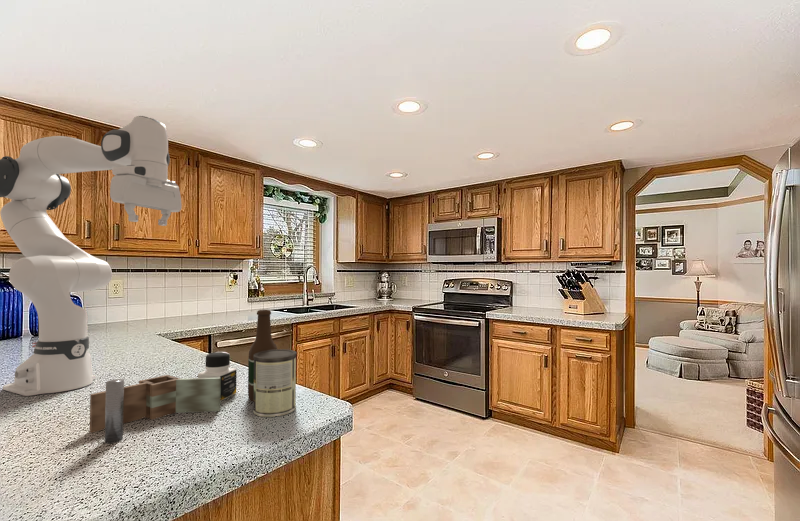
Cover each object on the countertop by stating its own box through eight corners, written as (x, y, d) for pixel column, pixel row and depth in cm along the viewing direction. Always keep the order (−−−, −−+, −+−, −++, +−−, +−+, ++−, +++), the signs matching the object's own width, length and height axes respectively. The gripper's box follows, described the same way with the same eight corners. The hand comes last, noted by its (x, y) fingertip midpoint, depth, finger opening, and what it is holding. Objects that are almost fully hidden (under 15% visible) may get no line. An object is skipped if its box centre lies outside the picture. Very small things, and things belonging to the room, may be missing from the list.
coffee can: (245, 409, 98) (246, 353, 98) (283, 400, 105) (284, 347, 106) (264, 421, 91) (265, 359, 91) (303, 410, 98) (304, 353, 98)
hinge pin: (100, 442, 79) (102, 382, 79) (115, 436, 82) (116, 378, 82) (112, 444, 78) (113, 383, 79) (126, 438, 81) (127, 379, 82)
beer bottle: (260, 405, 101) (261, 312, 102) (241, 399, 105) (242, 310, 106) (284, 396, 108) (284, 309, 109) (265, 392, 112) (266, 308, 113)
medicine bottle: (220, 401, 104) (221, 356, 104) (196, 400, 105) (197, 355, 106) (236, 393, 111) (237, 351, 111) (214, 392, 112) (215, 349, 113)
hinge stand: (190, 399, 105) (191, 369, 106) (221, 410, 97) (222, 377, 98) (84, 428, 86) (85, 392, 86) (112, 445, 78) (113, 404, 78)
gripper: (170, 183, 122) (169, 227, 121) (106, 166, 102) (104, 219, 101) (187, 182, 120) (186, 227, 120) (125, 164, 100) (124, 218, 100)
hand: (148, 223), depth 110 cm, fingers open, 8 cm apart
